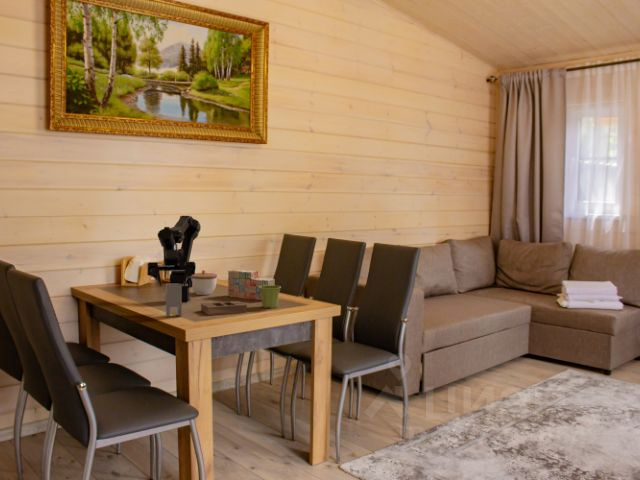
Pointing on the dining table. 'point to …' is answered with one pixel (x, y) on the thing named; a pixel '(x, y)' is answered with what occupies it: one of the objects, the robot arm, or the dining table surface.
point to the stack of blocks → (246, 284)
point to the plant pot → (269, 295)
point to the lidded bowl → (204, 283)
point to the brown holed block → (223, 307)
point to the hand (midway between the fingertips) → (172, 285)
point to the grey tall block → (173, 298)
